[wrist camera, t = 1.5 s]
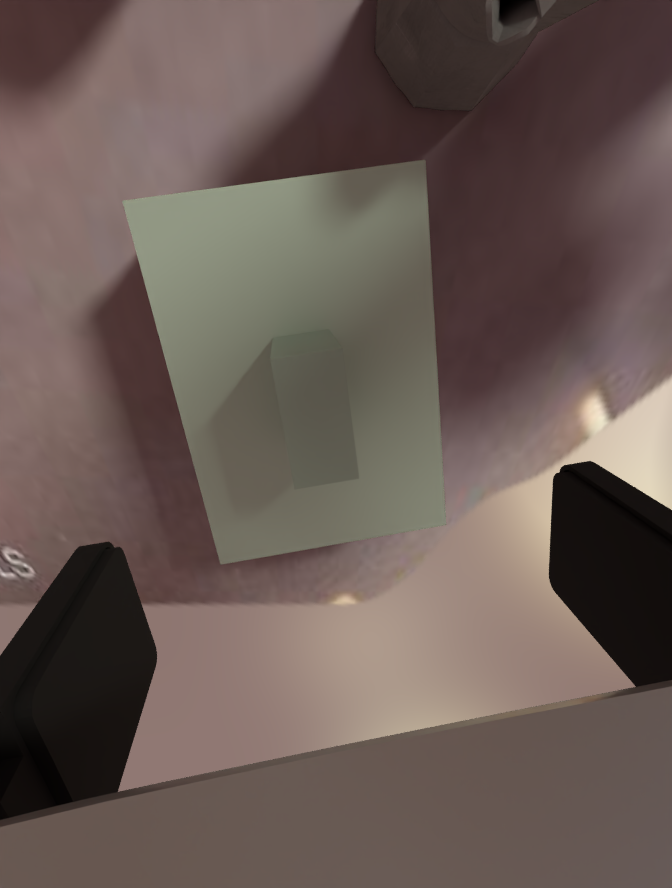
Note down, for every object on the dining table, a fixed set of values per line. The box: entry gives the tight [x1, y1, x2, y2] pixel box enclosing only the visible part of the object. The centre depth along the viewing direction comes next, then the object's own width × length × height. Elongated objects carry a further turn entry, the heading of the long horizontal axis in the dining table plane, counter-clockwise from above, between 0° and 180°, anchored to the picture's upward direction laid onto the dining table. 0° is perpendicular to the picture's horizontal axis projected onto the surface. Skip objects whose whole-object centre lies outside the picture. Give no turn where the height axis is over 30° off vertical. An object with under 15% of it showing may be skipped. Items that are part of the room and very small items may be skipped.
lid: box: [123, 160, 446, 565], centre depth 24 cm, size 14×20×8 cm
